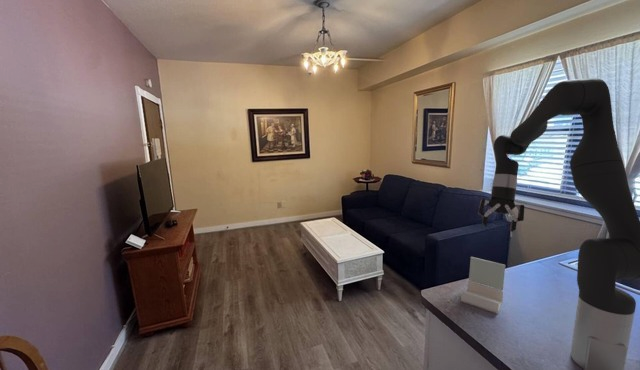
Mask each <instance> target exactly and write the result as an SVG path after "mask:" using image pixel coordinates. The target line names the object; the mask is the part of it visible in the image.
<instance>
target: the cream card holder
mask: <svg viewBox="0 0 640 370" xmlns="http://www.w3.org/2000/svg"><path fill="white" fill-rule="evenodd" d="M503 299H504V290H500V289H496V288H493V287H489V286H486V285H483V284H479V283H476V282H473V281H469V280H467V286H466V290H461V293H460V302H461V303H465V304H467V305H470V306H473V307H476V308H478V309H481V310H484V311H488V312H490V313H493V314H496V315H498V314H499V312H500V309H501V307H502V303H503Z"/></svg>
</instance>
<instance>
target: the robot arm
mask: <svg viewBox="0 0 640 370" xmlns="http://www.w3.org/2000/svg"><path fill="white" fill-rule="evenodd" d="M612 109H613V108H612V98H611V93H610V89H609V85H608V83H606V81H605V80H604V79H601V78H595V77H594V78H593V77H591V78H590V77H589V78H576V79H566V80H563V81H560V82H558V83H557V84H555V85H554V86H552V88H551V89H549V91H548V92H547V93H546V94H545V96H544V97H543V98H542V99H541V101H540V102H538V104H537V106H536V107H535V108H534V110H533V111H532V113H530V115H529V116H528V117H527V118H525V120H524V121H523V122H521V123H520V124H519V125H518V126H516V127H515V128H514V129H513V130H512V132H511V134H510V135H505V134H502V135H501V134H500V135H499V136H497V137H496V139H495V140H494V141H493V151H494V157H495V163H496V165H495V171H494V177H493V181H492V186H491V193H490V194H491V195H490V199H489V200H486V199H483V198H481V200H480V201H479V207H478V210H477V211H478V212H477V213H478V215H479V216H481V217H482V221H481V224H482V225H483V227H484V228H487V225H488V219H489V218H488V216H489V215H491V214H492V213H496V214H503V215H507V216H508V217H509V218H510V220H511V221H510V224H509V232H512V233H513V232H514V231H516V230H517V223H518V222H524V220H525V205H524V204H516V203H515V198H516V192H517V186H518V185H517V184H518V172H519V161H517V160H514V159H512V158H509V156H508V155H512V156H519V155H523V154H525V152H526V151H527V149H528V148H529V146H530V145H531V143H533V142H534V141H535V140H537V139H539V138H540V137H541V136H542V135H544V134H545V132H546V130H547V129H548V126H549V125H548V124H549V123H548V121H550V120H551V119H553V118H555V117H557V116H575V115H576V116H578V115H579V116H580V118H581V121H582V127H583V129H582V137H581V139H580V140H579V143H578V144H577V146H576V148H575V150H574V152H573V154H572V155H571V158H570V161H569V166H570V172H571V177H572V181H573V185H574V188H575V190H577V192H578V193H579V195H580V196H581V197H582V198H583V199H584V200H585V201H586V202H587V203H588V204H589V205H591V207H592V208H593V209H595V211H596V212H597V213H598V214H599V216H600V217H601V218H602V220H603V222H604V224H605V226H606V230H607V233H608V236H609V238H603V237H602V238H601V237H600V238H589V239H586V240H584V241H583V242H582V243H581V245H580V246H579V250H578V255H577V271H576V272H577V273H576V275H577V276H576V282H577V283H576V284H577V287H578V298H577V305H576V312H575V319H574V327H573V333H572V341H571V342H572V343H571V347H570V357H571V359H572V360H573V362H574V363H576V365H577V366H579V367H581V368H582V369H583V370H626V369H625V368H626V367H625V366H626V362H627V356H628V351H629V345H630V344H629V343H630V339H631V333H632V329H633V323H634V318H635V312H636V306H637V302H636V299H635V297H633V296H632V295H631V294H629V292H627V291H624V290H622V289H621V288H619V287H616V281H617V280H636V281H638V280H640V218H639V215H638V212H637V209H636V206H635V203H634V200H633V197H632V193H631V190H630V186H629V181H628V175H627V172H626V168H625V164H624V161H623V157H622V156H621V155H622V154H621V151H620V148H619V145H618V139H617V136H616V131H615V127H614V118H613V110H612ZM487 204H488V205H489V207H490V208H488V210H486V211H485V212H484V208H485V206H487ZM515 208H516V210H517V217H516V215H515V214H514V212H513V210H514V209H515Z"/></svg>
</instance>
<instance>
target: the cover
mask: <svg viewBox="0 0 640 370" xmlns="http://www.w3.org/2000/svg"><path fill="white" fill-rule="evenodd" d="M469 263H470V264H469V273H468V281H472V282H475V283H478V284H482V285H485V286H489V287H492V288H495V289H499V290H502V291H504V285H505V284H504V282H505V274H506V273H505V272H506V264H503V263H501V262H500V263H499V262H497V261H496V262H495V261H491V260H487V259H482V258H479V257H474V256H470V262H469Z"/></svg>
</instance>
